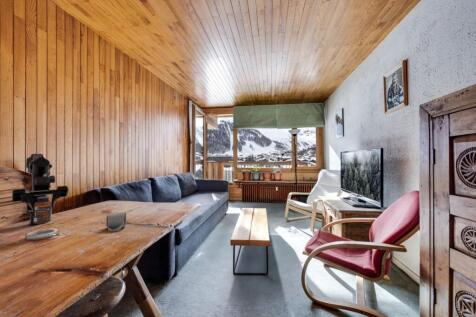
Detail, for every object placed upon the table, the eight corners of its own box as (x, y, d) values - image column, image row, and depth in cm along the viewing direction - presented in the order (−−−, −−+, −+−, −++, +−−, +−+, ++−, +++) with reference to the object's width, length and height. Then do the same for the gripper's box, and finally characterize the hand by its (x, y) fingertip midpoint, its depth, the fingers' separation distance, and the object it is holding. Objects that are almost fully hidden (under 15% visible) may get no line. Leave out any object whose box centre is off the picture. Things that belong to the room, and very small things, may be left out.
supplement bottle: (35, 225, 91) (35, 199, 91) (31, 222, 94) (31, 197, 94) (53, 221, 96) (53, 196, 96) (48, 219, 99) (49, 195, 99)
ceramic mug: (108, 226, 108) (108, 211, 108) (126, 224, 112) (126, 210, 111) (104, 233, 99) (104, 217, 98) (124, 231, 102) (124, 215, 102)
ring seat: (25, 235, 95) (25, 231, 95) (57, 230, 103) (57, 226, 103) (24, 242, 87) (24, 238, 87) (59, 236, 94) (59, 232, 94)
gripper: (12, 170, 91) (12, 200, 83) (67, 169, 104) (72, 194, 97) (12, 187, 96) (12, 216, 89) (64, 183, 110) (68, 208, 102)
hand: (43, 208), depth 94 cm, fingers closed on supplement bottle, 6 cm apart
